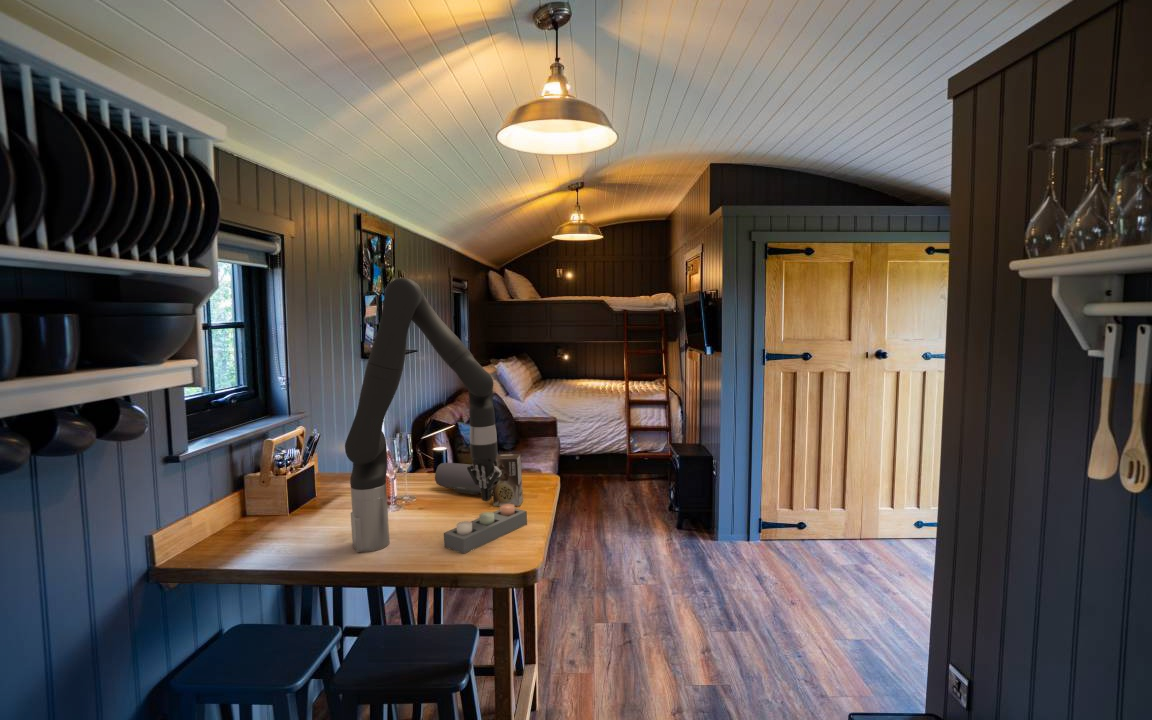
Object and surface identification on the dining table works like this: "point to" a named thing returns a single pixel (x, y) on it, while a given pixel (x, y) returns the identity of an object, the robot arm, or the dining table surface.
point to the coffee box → (508, 480)
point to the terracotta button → (507, 509)
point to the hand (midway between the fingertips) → (486, 500)
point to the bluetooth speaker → (456, 478)
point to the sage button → (486, 518)
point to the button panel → (485, 531)
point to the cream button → (464, 528)
